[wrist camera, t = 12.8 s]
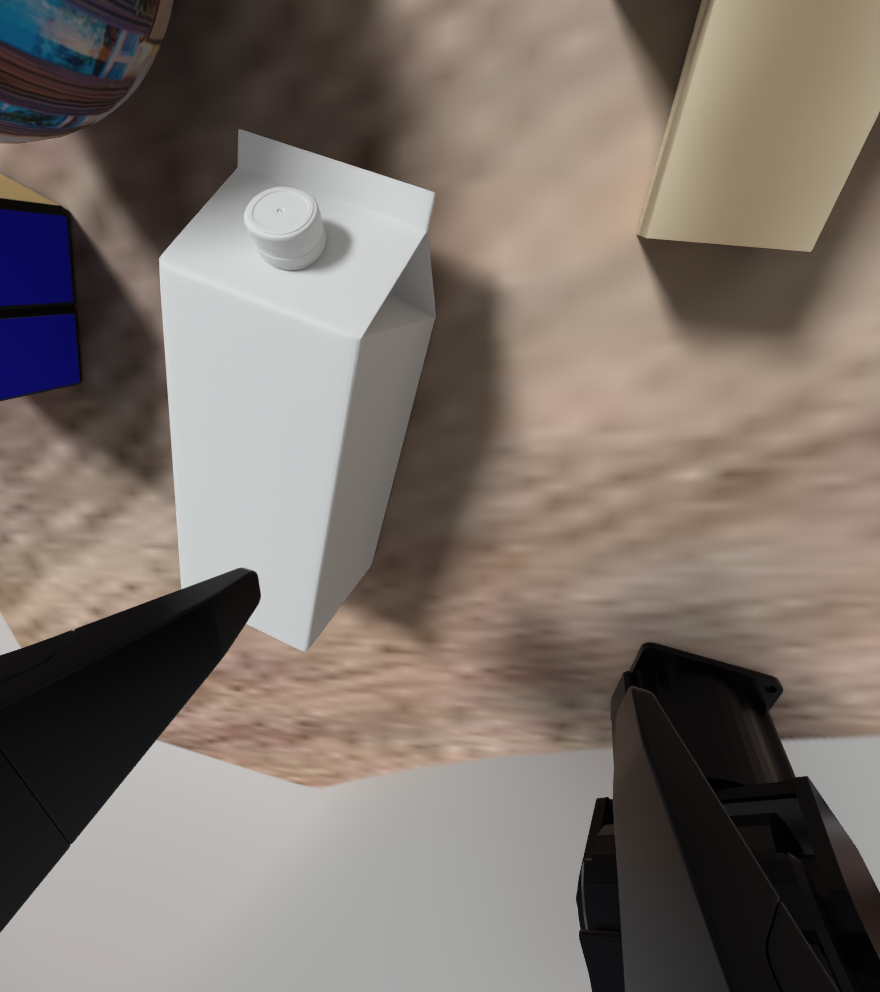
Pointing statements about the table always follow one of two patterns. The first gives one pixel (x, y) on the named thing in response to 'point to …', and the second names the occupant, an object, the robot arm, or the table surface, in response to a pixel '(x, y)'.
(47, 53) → the ornament
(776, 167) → the beige rectangular block
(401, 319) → the milk carton
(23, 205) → the puzzle cube
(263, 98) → the table surface
